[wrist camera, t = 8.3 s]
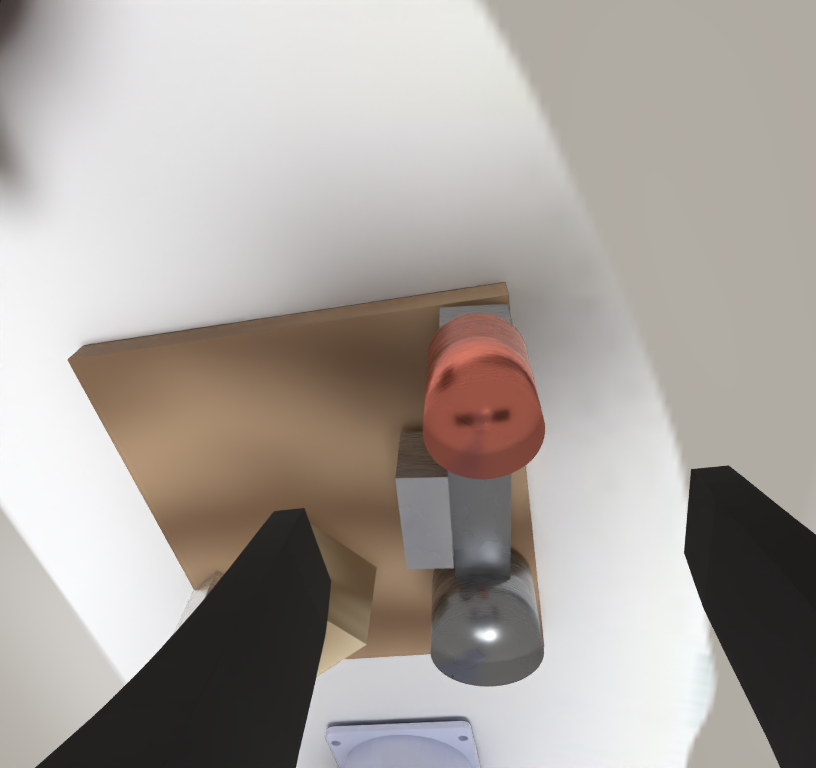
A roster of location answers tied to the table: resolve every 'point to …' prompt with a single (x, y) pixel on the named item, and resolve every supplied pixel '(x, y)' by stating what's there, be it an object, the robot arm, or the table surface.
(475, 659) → the lever
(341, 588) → the tan cube
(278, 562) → the robot arm
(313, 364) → the board
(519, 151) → the table surface
